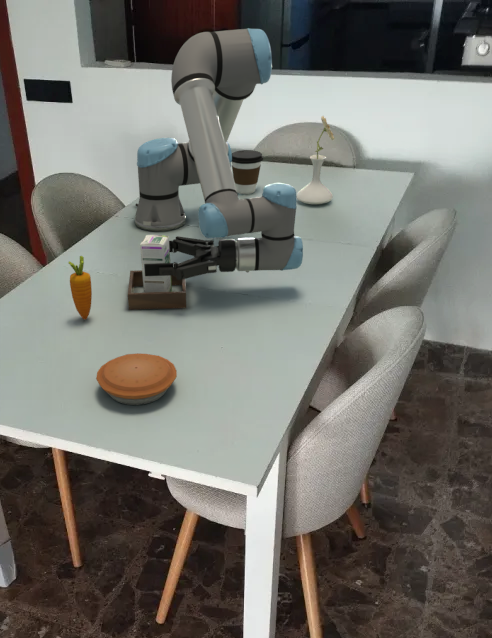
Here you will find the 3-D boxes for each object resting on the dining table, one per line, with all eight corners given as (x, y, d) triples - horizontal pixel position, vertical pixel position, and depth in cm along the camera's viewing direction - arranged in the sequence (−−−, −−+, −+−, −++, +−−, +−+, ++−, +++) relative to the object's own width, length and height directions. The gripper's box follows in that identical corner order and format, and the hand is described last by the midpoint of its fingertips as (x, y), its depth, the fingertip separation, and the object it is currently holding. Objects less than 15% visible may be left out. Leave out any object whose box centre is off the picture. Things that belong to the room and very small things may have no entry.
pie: (94, 413, 131) (92, 390, 128) (101, 370, 143) (99, 348, 140) (177, 411, 131) (176, 388, 128) (176, 367, 143) (176, 346, 140)
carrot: (78, 326, 159) (70, 264, 150) (71, 317, 163) (63, 256, 154) (99, 321, 161) (92, 259, 152) (91, 312, 165) (84, 252, 156)
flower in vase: (328, 209, 217) (337, 123, 202) (292, 205, 220) (298, 121, 206) (336, 196, 227) (344, 113, 212) (301, 193, 230) (307, 111, 216)
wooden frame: (131, 285, 176) (130, 270, 174) (185, 283, 176) (185, 268, 174) (128, 310, 165) (127, 294, 163) (186, 308, 165) (185, 292, 163)
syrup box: (167, 302, 168) (164, 244, 159) (143, 300, 169) (139, 243, 160) (172, 292, 172) (170, 235, 164) (148, 290, 173) (145, 234, 165)
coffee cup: (223, 189, 236) (223, 152, 229) (251, 184, 239) (252, 147, 232) (239, 198, 228) (240, 160, 221) (268, 193, 231) (270, 155, 224)
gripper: (239, 292, 157) (145, 296, 157) (231, 250, 177) (147, 253, 177) (240, 261, 152) (143, 264, 152) (231, 221, 172) (145, 224, 173)
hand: (145, 258), depth 165 cm, fingers open, 13 cm apart
